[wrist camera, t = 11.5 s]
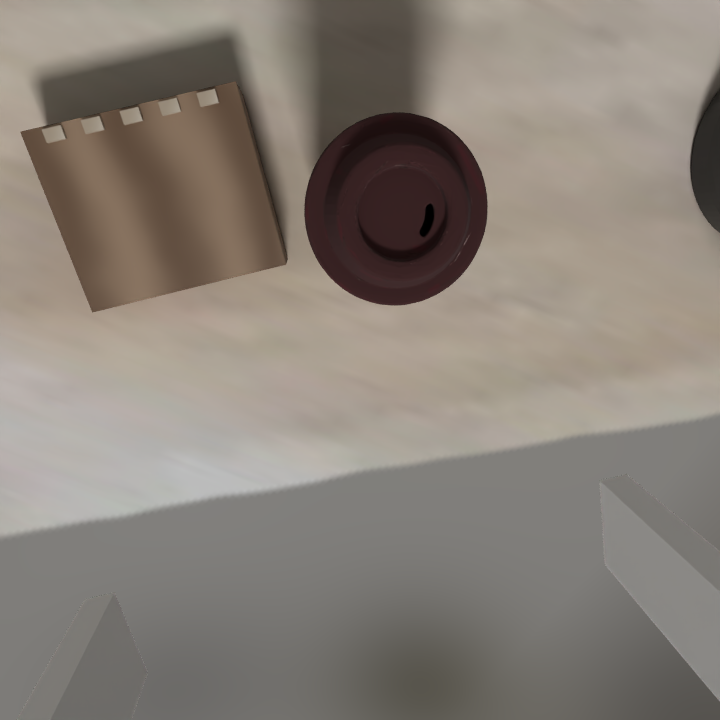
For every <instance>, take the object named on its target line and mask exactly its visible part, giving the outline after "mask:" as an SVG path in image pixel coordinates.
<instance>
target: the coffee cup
mask: <svg viewBox="0 0 720 720" xmlns="http://www.w3.org/2000/svg"><path fill="white" fill-rule="evenodd" d="M304 215H305V224H306V231H307V235H308V239H309V242H310V245H311V247H312V250H313V252H314V254H315V256H316V258H317V260H318V262H319V263H320V265H321V266H322V268H323V269H324V270H325V272H326V273H327V274H328V275H329V277H330V278H331V279H332V280H333V281H334V282H335V283H337V284H338V285H339V286H340V287H342V288H343V289H344V290H346V291H347V292H349V293H351V294H352V295H354V296H356V297H358V298H361V299H363V300H366V301H369V302H373V303H377V304H383V305H406V304H411V303H416V302H420V301H423V300H425V299H428V298H430V297H432V296H434V295H436V294H438V293H440V292H441V291H443V290H445V289H446V288H447V287H449V286H450V285H451V284H453V283H454V282H455V281H456V280H457V279H458V278H459V277H460V276H461V275H462V274H463V273H464V271H465V270H466V269H467V268H468V266H469V265H470V263H471V262H472V260H473V258H474V257H475V255H476V253H477V251H478V248H479V246H480V244H481V241H482V238H483V235H484V232H485V227H486V222H487V193H486V187H485V183H484V179H483V176H482V172H481V170H480V168H479V166H478V163H477V161H476V160H475V158H474V156H473V154H472V153H471V151H470V150H469V149H468V147H467V146H466V145H465V144H464V142H463V141H462V140H461V139H460V138H459V137H458V136H457V135H456V134H455V133H453V132H452V131H451V130H449V129H448V128H447V127H445V126H444V125H442V124H440V123H438V122H437V121H434V120H432V119H430V118H427V117H423V116H419V115H415V114H411V113H386V114H379V115H375V116H372V117H369V118H366V119H364V120H361V121H359V122H357V123H355V124H354V125H352V126H350V127H349V128H347V129H346V130H344V131H343V132H342V133H341V134H339V135H338V136H337V137H336V138H335V139H334V140H333V141H332V142H331V143H330V144H329V145H328V147H327V148H326V149H325V151H324V152H323V153H322V155H321V156H320V158H319V160H318V161H317V163H316V165H315V167H314V169H313V171H312V174H311V177H310V180H309V183H308V187H307V191H306V197H305V214H304Z"/></svg>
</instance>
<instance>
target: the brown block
mask: <svg viewBox="0 0 720 720" xmlns="http://www.w3.org/2000/svg"><path fill="white" fill-rule="evenodd" d="M21 135H22V137H23V140H24V142H25V145H26V147H27V150H28V152H29V155H30V157H31V160H32V162H33V165H34V167H35V170H36V172H37V175H38V177H39V180H40V182H41V185H42V187H43V190H44V192H45V195H46V197H47V200H48V202H49V205H50V207H51V210H52V212H53V215H54V217H55V220H56V222H57V225H58V227H59V230H60V232H61V235H62V237H63V240H64V242H65V245H66V247H67V250H68V252H69V255H70V257H71V260H72V262H73V265H74V267H75V270H76V272H77V275H78V278H79V280H80V283H81V285H82V288H83V290H84V293H85V295H86V298H87V300H88V303H89V305H90V308H91V310H92V312H96V311H100V310H104V309H108V308H112V307H116V306H120V305H124V304H128V303H132V302H136V301H140V300H145V299H149V298H153V297H157V296H161V295H165V294H169V293H173V292H177V291H181V290H185V289H189V288H193V287H197V286H201V285H205V284H209V283H213V282H217V281H221V280H225V279H229V278H233V277H237V276H241V275H245V274H249V273H253V272H257V271H261V270H266V269H270V268H274V267H278V266H282V265H286V263H287V260H288V259H287V255H286V252H285V248H284V244H283V241H282V237H281V233H280V230H279V226H278V222H277V219H276V215H275V211H274V208H273V204H272V200H271V197H270V193H269V189H268V186H267V182H266V178H265V174H264V171H263V167H262V163H261V160H260V156H259V152H258V149H257V145H256V141H255V138H254V134H253V130H252V127H251V123H250V119H249V116H248V112H247V108H246V105H245V101H244V97H243V94H242V92H241V90H240V88H239V87H238V85H237V83H236V81H235V82H231V83H226V84H222V85H218V86H214V87H209V88H205V89H201V90H197V91H192V92H188V93H184V94H180V95H175V96H171V97H167V98H162V99H158V100H154V101H150V102H145V103H141V104H137V105H133V106H128V107H124V108H120V109H116V110H111V111H107V112H103V113H98V114H94V115H90V116H86V117H81V118H77V119H73V120H69V121H64V122H60V123H56V124H52V125H47V126H43V127H39V128H34V129H30V130H26V131H22V132H21Z"/></svg>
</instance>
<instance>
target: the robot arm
mask: <svg viewBox="0 0 720 720" xmlns="http://www.w3.org/2000/svg"><path fill="white" fill-rule="evenodd" d="M692 183H693V189H694V193H695V197H696V200H697V202H698V205H699V207H700V209H701V211H702V213H703V215H704V216H705V218H706V219H707V220H708V222H709V223H710V224H711V225H712V226H713V227H714V228H715V229H716V230H717V231H718V232H720V90H719V91H718V93H717V94H716V96H715V97H714V99H713V100H712V102H711V103H710V105H709V107H708V109H707V110H706V112H705V114H704V117H703V119H702V121H701V124H700V126H699V129H698V132H697V135H696V139H695V143H694V148H693V154H692ZM599 483H600V499H601V514H602V529H603V530H602V531H603V546H604V563H605V565H606V567H607V568H608V569H609V570H610V571H611V572H612V574H613V575H614V576H615V577H616V578H617V580H618V581H619V582H620V583H621V584H622V586H623V587H624V588H625V589H626V590H627V592H628V593H629V594H630V595H631V596H632V597H633V598H634V600H635V601H636V602H637V603H638V605H639V606H640V607H641V608H642V609H643V610H644V612H645V613H646V614H647V615H648V616H649V618H650V619H651V620H652V621H653V622H654V624H655V625H656V626H657V627H658V628H659V630H660V631H661V632H662V633H663V634H664V636H665V637H666V638H667V639H668V640H669V641H670V643H671V644H672V645H673V646H674V647H675V649H676V650H677V651H678V652H679V653H680V655H681V656H682V657H683V658H684V659H685V661H686V662H687V663H688V664H689V665H690V667H691V668H692V669H693V670H694V671H695V673H696V674H697V675H698V676H699V677H700V678H701V680H702V681H703V682H704V683H705V684H706V686H707V687H708V688H709V689H710V690H711V691H712V693H713V694H714V695H715V696H716V697H717V699H718V700H719V701H720V551H719V550H718V549H716V548H715V547H714V546H713V545H712V544H710V543H709V542H708V541H707V540H705V539H704V538H703V537H702V536H701V535H700V534H698V533H697V532H696V531H695V530H693V529H692V528H691V527H690V526H689V525H687V524H686V523H685V522H684V521H683V520H681V519H680V518H679V517H678V516H677V515H675V514H674V513H673V512H672V511H670V510H669V509H668V508H667V507H666V506H664V505H663V504H662V503H661V502H660V501H658V500H657V499H656V498H655V497H654V496H652V495H651V494H650V493H649V492H648V491H646V490H645V489H644V488H643V487H641V486H640V485H639V484H638V483H637V482H635V481H634V480H633V479H632V478H631V477H629V476H628V475H627V474H625V475H621V476H616V477H612V478H608V479H603V480H600V481H599ZM147 673H148V672H147V670H146V668H145V665H144V663H143V660H142V658H141V655H140V653H139V650H138V648H137V646H136V643H135V641H134V638H133V636H132V633H131V631H130V629H129V626H128V624H127V621H126V619H125V616H124V614H123V612H122V609H121V607H120V604H119V602H118V600H117V597H116V595H115V593H114V592H113V593H109V594H104V595H101V596H96V597H92V598H87V599H85V600H84V602H83V603H82V605H81V607H80V609H79V610H78V612H77V614H76V616H75V617H74V619H73V621H72V623H71V625H70V626H69V628H68V630H67V632H66V633H65V635H64V637H63V639H62V640H61V642H60V644H59V646H58V648H57V649H56V651H55V653H54V655H53V656H52V658H51V660H50V662H49V663H48V665H47V667H46V669H45V670H44V672H43V674H42V675H41V677H40V679H39V681H38V683H37V684H36V686H35V688H34V690H33V691H32V693H31V695H30V697H29V698H28V701H27V702H26V704H25V705H24V707H23V709H22V711H21V712H20V714H19V716H18V718H17V720H132V717H133V714H134V711H135V708H136V705H137V702H138V699H139V697H140V694H141V691H142V688H143V685H144V682H145V679H146V676H147Z"/></svg>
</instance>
